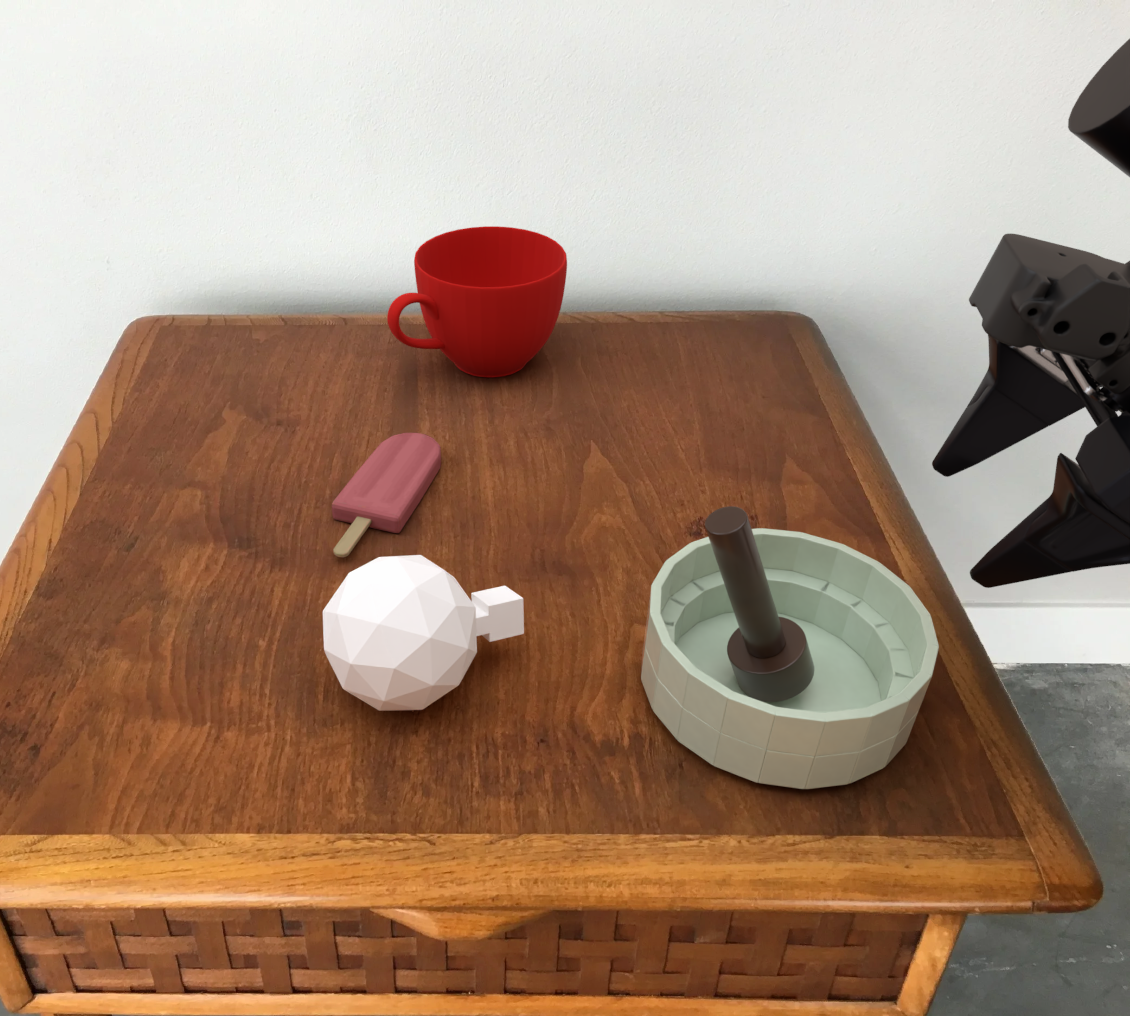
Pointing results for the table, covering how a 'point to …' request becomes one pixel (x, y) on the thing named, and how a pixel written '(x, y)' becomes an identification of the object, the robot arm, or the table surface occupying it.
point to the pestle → (757, 616)
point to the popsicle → (386, 487)
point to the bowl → (839, 652)
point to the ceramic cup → (486, 297)
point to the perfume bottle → (410, 630)
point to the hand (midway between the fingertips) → (956, 522)
